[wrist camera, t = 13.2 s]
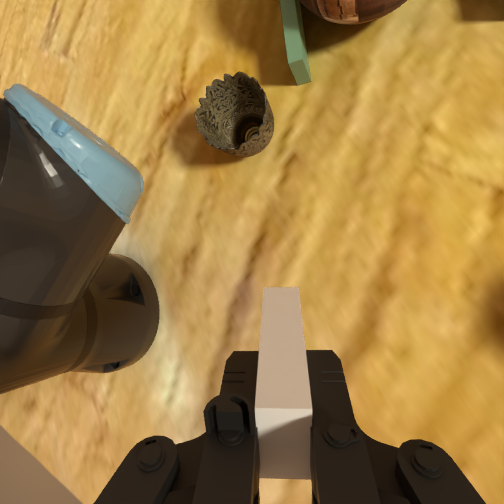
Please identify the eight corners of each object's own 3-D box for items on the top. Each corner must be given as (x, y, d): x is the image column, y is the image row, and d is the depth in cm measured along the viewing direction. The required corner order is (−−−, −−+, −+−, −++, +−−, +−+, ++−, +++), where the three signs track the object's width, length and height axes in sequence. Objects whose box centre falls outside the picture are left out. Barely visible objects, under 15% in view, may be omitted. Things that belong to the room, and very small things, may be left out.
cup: (216, 133, 43) (182, 104, 36) (266, 94, 41) (241, 55, 34) (246, 182, 41) (216, 163, 34) (299, 144, 40) (280, 115, 32)
